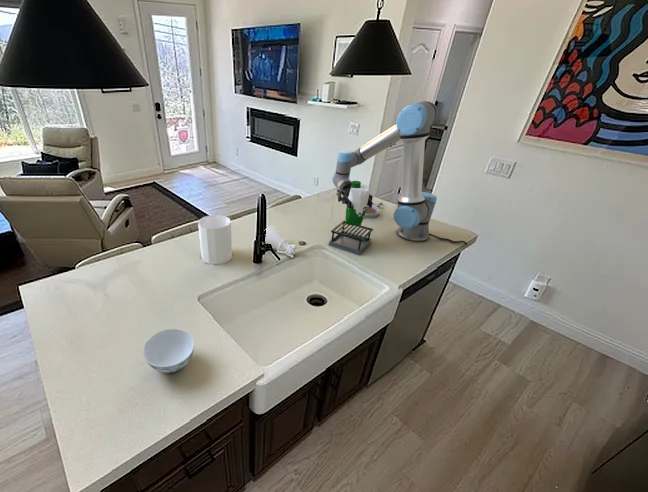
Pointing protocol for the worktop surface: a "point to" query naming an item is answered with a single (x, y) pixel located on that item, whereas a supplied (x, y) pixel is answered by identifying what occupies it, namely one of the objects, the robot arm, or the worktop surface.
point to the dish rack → (350, 238)
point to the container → (215, 239)
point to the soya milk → (357, 203)
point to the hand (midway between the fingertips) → (360, 205)
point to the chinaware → (169, 350)
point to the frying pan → (372, 210)
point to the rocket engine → (279, 241)
